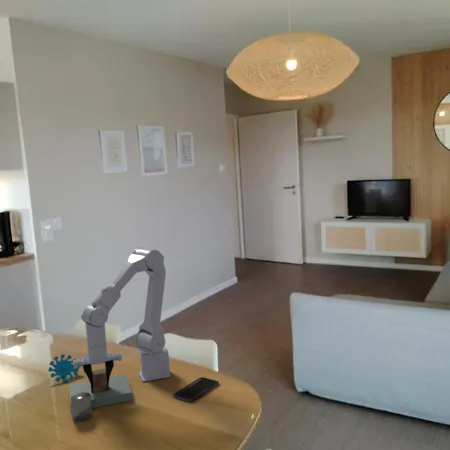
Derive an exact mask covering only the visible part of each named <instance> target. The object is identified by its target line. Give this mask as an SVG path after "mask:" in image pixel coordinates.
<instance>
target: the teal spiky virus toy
mask: <svg viewBox="0 0 450 450" xmlns="http://www.w3.org/2000/svg"><path fill="white" fill-rule="evenodd" d="M65 357H66V354H63V353H62V354H61V355H60V360H59V356H54V358H53V360H54V361H55V362H54V361H53V360H51V361H49V367H48V372H49V373H50V372H52V373H51V374H50V377H51V378H52V379H53V378H54V377H55V381H56V382H57V383H58V382H60V380H61V379H62V378H63V379H62V383H67V381H68V379H69V380H70V381H72V380H74V379H75V377H74V376H76V375H78V374H79V370H80V368H81V367H78V368H74V363H73V360H77V359H76V358H73V359H72V355H71V354H68V355H67V357H66V358H65ZM64 358H65V359H64ZM71 359H72V360H71ZM55 363H56V364H55ZM53 367H54V368H53ZM54 372H55V373H54ZM72 373H73V374H72ZM56 376H57V377H56ZM68 376H69V378H67V377H68Z"/></svg>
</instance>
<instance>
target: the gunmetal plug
mask: <svg viewBox="0 0 450 450" xmlns="http://www.w3.org/2000/svg"><path fill="white" fill-rule="evenodd" d="M71 409H72V412H71V417H72V419H71V420H73V422H77V423H78V422H85V421H88V420H90V419H91V418H92V417H93V410H92V409H93V408H92V406H91V395H90V393H86V392H82V393H77V394H75V395H73V396H72V397H71V405H70V410H71Z"/></svg>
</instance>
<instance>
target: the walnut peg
mask: <svg viewBox="0 0 450 450" xmlns="http://www.w3.org/2000/svg"><path fill="white" fill-rule="evenodd" d="M92 379H93V387H94V388H93V392H94V393H98V392H103V391H107V379H106V371H105V367H104V368H99V369H94V370H93V369H92Z"/></svg>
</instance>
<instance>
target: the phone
mask: <svg viewBox="0 0 450 450" xmlns="http://www.w3.org/2000/svg"><path fill="white" fill-rule="evenodd" d="M219 385H220V382H219V380H215V379H213V378H212V379H211V378H207V377H203V376H202V377H198V378H197V379H195V380H194V381H192V382H191V383H189V384H187V385H186V386H185V387H183V388H181V389H179V390H178V391H176V392H174V393H173V399H175V398H176V399H175V400H178V401H182V400H183V401H182V402H185V401H186V403H188V402H189V404H192V403H191V402H193V403H195V402H196V401H197V399H198V400H199V399H200V398H202V397H204V396H205V395H207V394H208V393H209V392H211V391H212V390H213V388H214V389H215V388H217V387H218V386H219ZM210 390H211V391H210ZM207 392H208V393H207ZM204 394H205V395H204ZM195 400H196V401H195ZM194 401H195V402H194Z"/></svg>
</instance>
